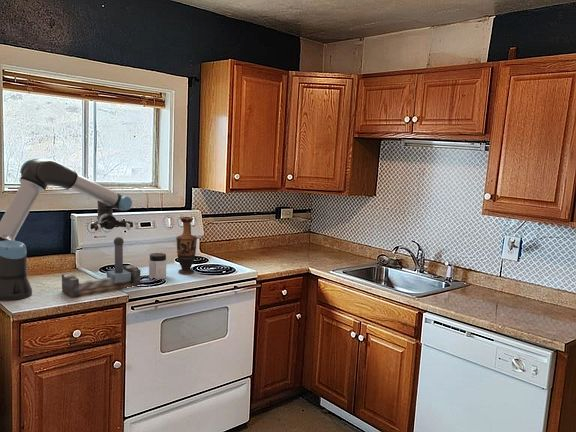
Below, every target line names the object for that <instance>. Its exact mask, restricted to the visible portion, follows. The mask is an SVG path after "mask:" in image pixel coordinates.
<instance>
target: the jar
mask: <svg viewBox="0 0 576 432" xmlns="http://www.w3.org/2000/svg"><path fill="white" fill-rule="evenodd" d="M149 277H151V278H155V279H154V280H156V279H157V280H164V279H165V278H166V277H167V255H166V253H163V252H153V253H150V254H149V260H148V278H149ZM151 278H150V279H151Z"/></svg>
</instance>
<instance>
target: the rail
mask: <svg viewBox="0 0 576 432" xmlns="http://www.w3.org/2000/svg"><path fill="white" fill-rule="evenodd" d="M123 269H124V270H126V271H128V272H130V273H131V281H125V282H118V283H113V278H111V277H109V278H107V277H103V278H96V279H91V280H90V279H89V280H83V281H80V279H79V278H78V277H77V274H76V273H63V274H61V292H62V293H64V294H65V295H66V296H68V297H70V298H71V299H74V298H81V297H86V296H92V295H97V294H104V293H109V292H114V291H120V290H124V289H123V288H127V287H132V286H137V285H140V286H141V269H139V268H138V266H137V265H132V264H131V265H130V264H126V265H123ZM127 289H128V288H127Z"/></svg>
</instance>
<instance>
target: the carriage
mask: <svg viewBox="0 0 576 432" xmlns="http://www.w3.org/2000/svg"><path fill="white" fill-rule="evenodd" d="M113 244H114V269H113V270H108V271H106V278H109V277H111V278H113V283H118V282H125V281H131V273H130V272H128V271H126V270H124V269H123V266H124V254H123V252H124V249H123V248H124V239H123V238H122V237H120V236H118V237H115V238H114V239H113Z"/></svg>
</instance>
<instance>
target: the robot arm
mask: <svg viewBox="0 0 576 432" xmlns="http://www.w3.org/2000/svg"><path fill="white" fill-rule="evenodd" d="M19 173H20V178H19V179H18V180H19V183H20V185H19V188H18V189H17V191H16V193H15V195H14V197H13V198H12V200H11V201H10V203H9V206H8V207H7V208H6V210H5V212H4V214H3V216H2V218H1V220H0V301H3V302H5V301H16V300H21V299H26V298H28V297H30V296H32V294H33V288H32V286H31V283H30V281H29V279H28V269H27V267H28V266H27V265H28V261H27V253H28V251H27V246H26V244H25V243H24V242H21V241H20V240H16V237H17V235H18V233H19V231H20V230H21V227H22V226H23V224H24V222H25V221H26V218H27V217H28V215H29V213H30V211H31V210H32V208H33V206H34V204H35V202H36V200H37V198H38V196H39V195H40V193H44V192H45V191H46V189H47V187H48V186H54V187H60V188H63V189H65V190H70V189H71V190H73V191H75V192H78V193H81V194H83V195H84V196H87V197H89V198H91V199H94V200H96V201H97V215H98V216H96V220H95V222H92V223H90V230H94V231H96V232H97V231H98V232H99V233H100V232H102V228H103V229H105V230H109V231H110V230H113V229H114V228H120V227H121V228H126V230H128V231H131V228H134V222H133V221H130V220H124V219H120V220H119V219H118V220H117V219H116V217H115V216H114V213H113V210H119V211H128V210H130V209H131V208H132V205H133V201H132V198H131V197H129V196H127V195H122V194H120V193H118V192H116V191H114V190H111V189H109V188H108V187H105V186H103V185H101V184H99V183H97V182H95V181H93V180H90V179H89V178H86V177H84V176H82V175H80V174H79V173H78V171H77V170H75V169H74V168H71V167H69V166H66V165H65V164H63V163H61V162H58V161H56V160H53V159H52V160H51V159H41V158H32V159H28V160H26V161H25V162H24V163H22V165H21V167H20V172H19ZM97 219H98V221H97Z"/></svg>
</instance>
